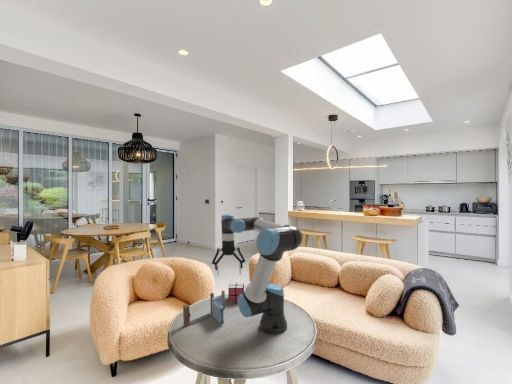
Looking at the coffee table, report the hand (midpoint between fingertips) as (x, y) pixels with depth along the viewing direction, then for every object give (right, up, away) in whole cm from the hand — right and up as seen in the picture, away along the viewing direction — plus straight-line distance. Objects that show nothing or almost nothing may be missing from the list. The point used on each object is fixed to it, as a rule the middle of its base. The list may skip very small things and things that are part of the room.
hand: (229, 274), depth 171 cm
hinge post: (-10, -24, +1) cm, 27 cm away
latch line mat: (-16, -25, -6) cm, 30 cm away
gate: (-6, -24, -7) cm, 26 cm away
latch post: (-23, -25, -13) cm, 36 cm away
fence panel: (-7, -24, +5) cm, 26 cm away
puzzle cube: (+3, -24, +22) cm, 33 cm away
